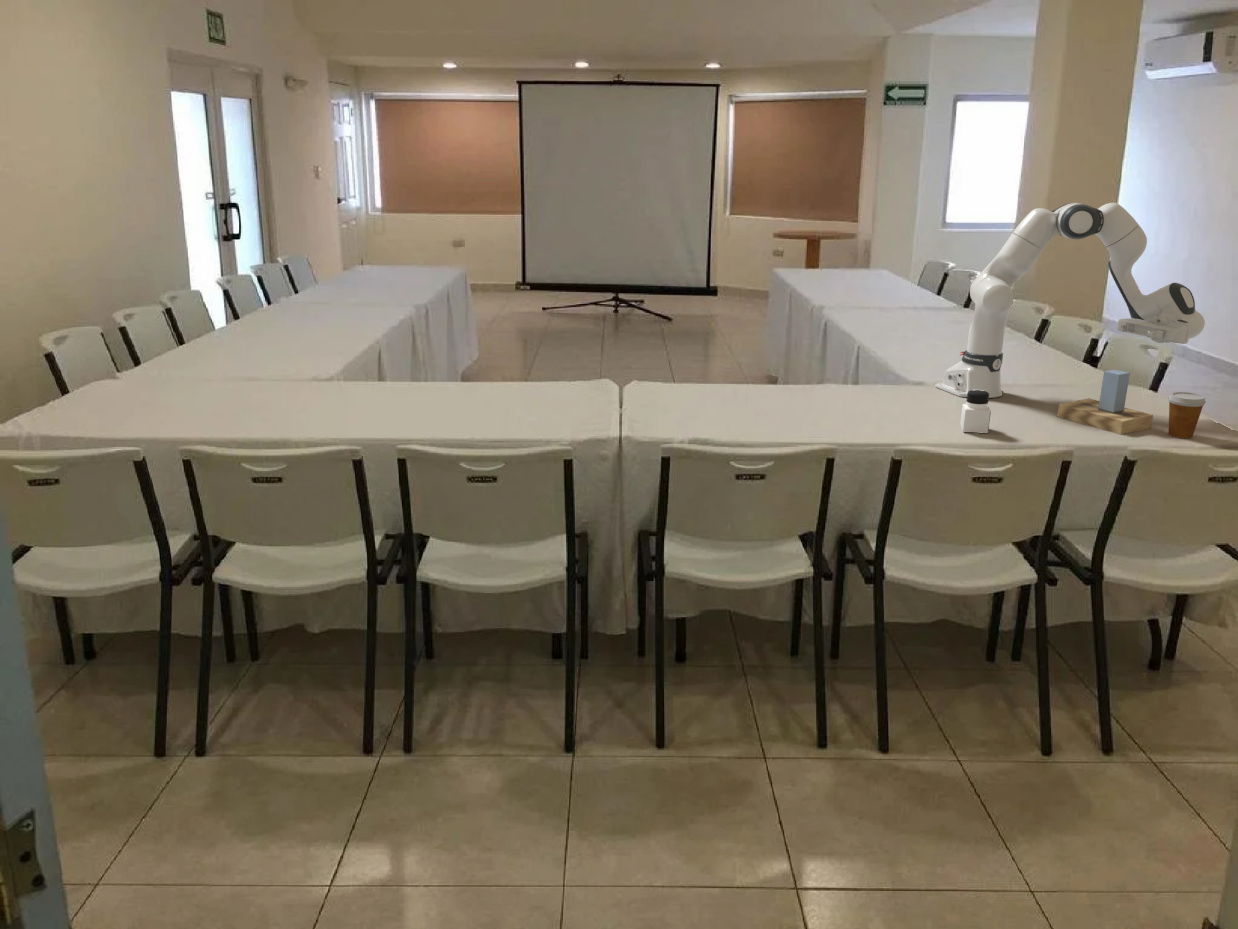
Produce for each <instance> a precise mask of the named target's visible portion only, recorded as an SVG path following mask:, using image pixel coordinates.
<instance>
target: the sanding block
mask: <svg viewBox="0 0 1238 929" xmlns="http://www.w3.org/2000/svg"><path fill="white" fill-rule="evenodd" d="M1130 375H1131V372H1129V371H1123V370H1119V369H1111V370H1104V371H1103V376H1102V383H1101V388H1100V389H1101V390H1100V395H1099V400H1098V401H1099V408H1098V410H1100V411H1104V412H1108V413H1111V414H1115V413H1120V412H1124V408H1125V405H1126V399H1127V393H1128V387H1129V383H1130V382H1129V381H1130Z"/></svg>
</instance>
